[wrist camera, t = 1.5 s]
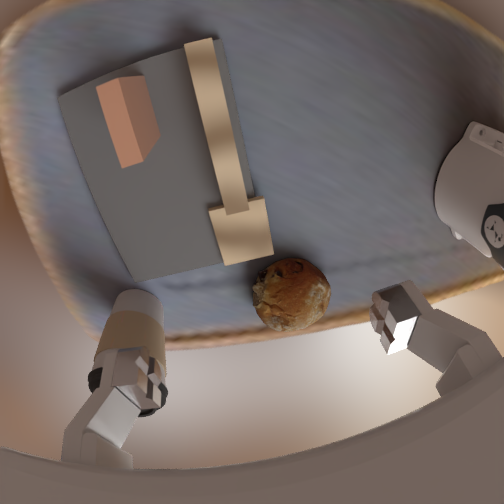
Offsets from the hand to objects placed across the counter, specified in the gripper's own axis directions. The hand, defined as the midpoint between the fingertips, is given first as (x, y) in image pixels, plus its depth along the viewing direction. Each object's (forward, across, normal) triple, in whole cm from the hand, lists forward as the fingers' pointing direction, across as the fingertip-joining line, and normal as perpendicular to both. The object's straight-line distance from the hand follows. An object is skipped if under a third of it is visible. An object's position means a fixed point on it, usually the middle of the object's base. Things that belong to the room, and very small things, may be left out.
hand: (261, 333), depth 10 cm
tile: (+20, +6, -6) cm, 22 cm away
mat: (+21, +6, 0) cm, 22 cm away
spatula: (+20, 0, 0) cm, 20 cm away
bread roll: (+22, -4, +19) cm, 29 cm away
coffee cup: (+22, +16, +17) cm, 32 cm away
